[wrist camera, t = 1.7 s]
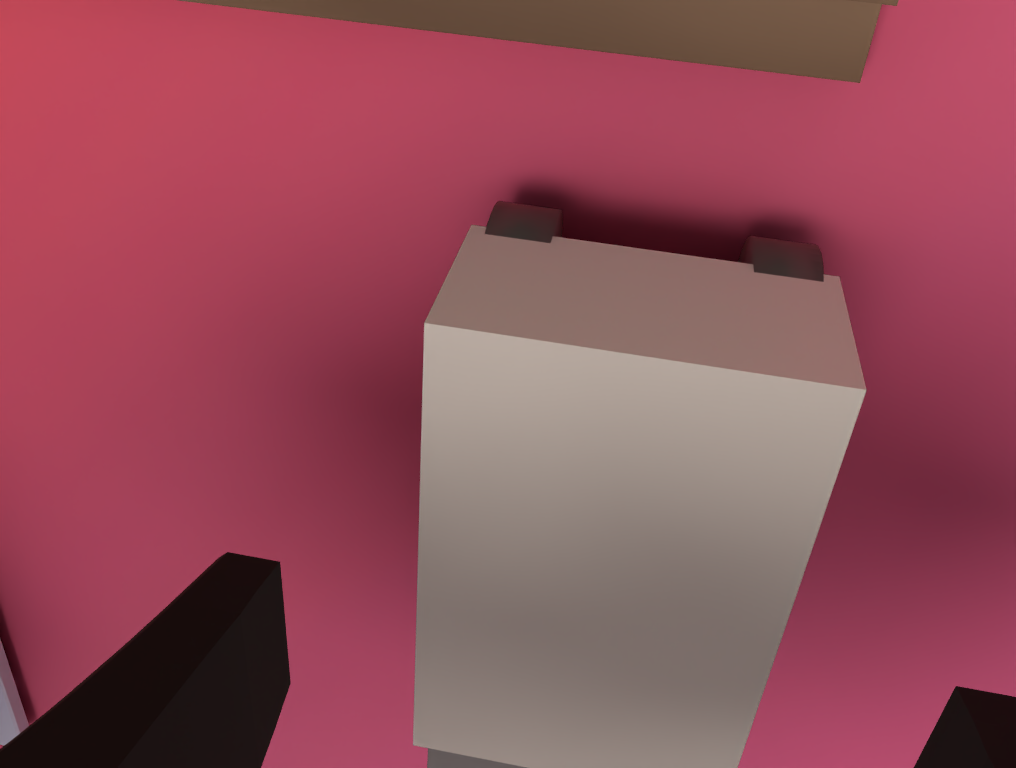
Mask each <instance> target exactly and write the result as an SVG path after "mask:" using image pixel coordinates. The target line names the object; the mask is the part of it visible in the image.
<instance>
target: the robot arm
mask: <svg viewBox="0 0 1016 768" xmlns="http://www.w3.org/2000/svg"><path fill="white" fill-rule="evenodd" d="M289 686H290V672H289V661H288V649H287V637H286V626H285V614H284V602H283V591H282V579H281V567H280V562H278V561H273V560H267V559H262V558H256V557H251V556H245V555H240V554H234V553H229V552H227V553H226V554H224V555H222V556H221V557H219V558H218V559H217V560H216V561H215V562H214V563H213V564H212V565H211V566H210V567H208V568H207V569H206V570H205V571H204V572H203V573H202V574H201V575H200V576H199V577H198V578H197V579H196V580H195V581H194V582H192V583H191V584H190V585H189V586H188V587H187V588H186V589H185V590H184V591H183V592H182V593H181V594H180V595H179V596H178V597H177V598H175V599H174V600H173V601H172V602H171V603H170V604H169V605H168V606H167V607H166V608H165V609H164V610H163V611H161V612H160V613H159V614H158V615H157V616H156V617H155V618H154V619H153V620H152V621H151V622H149V623H148V624H147V625H146V626H145V627H144V628H143V629H142V630H141V631H140V632H138V633H137V634H136V635H135V636H134V637H133V638H132V639H131V640H130V641H129V642H127V643H126V644H125V645H124V646H123V647H122V648H121V649H120V650H118V651H117V652H116V653H115V654H114V655H113V656H111V657H110V658H109V659H108V660H107V661H106V662H105V663H103V664H102V665H101V666H100V667H99V668H98V669H97V670H95V671H94V672H93V673H92V674H91V675H90V676H88V677H87V678H86V679H85V680H84V681H83V682H82V683H80V684H79V685H78V686H77V687H76V688H75V689H73V690H72V691H71V692H70V693H69V694H68V695H67V696H65V697H64V698H63V699H62V700H61V701H59V702H58V703H57V704H56V705H55V706H53V707H52V708H51V709H50V710H49V711H47V712H46V713H45V714H44V715H42V716H41V717H40V718H39V719H37V720H36V721H35V722H34V723H32V724H31V725H30V726H29V724H28V721H27V718H26V715H25V712H24V709H23V706H22V703H21V700H20V697H19V694H18V691H17V688H16V685H15V682H14V679H13V676H12V673H11V670H10V667H9V663H8V660H7V657H6V654H5V651H4V648H3V645H2V642H1V639H0V745H5V746H3V747H2V748H1V749H0V768H261V766H262V763H263V760H264V758H265V755H266V752H267V749H268V747H269V744H270V741H271V738H272V735H273V733H274V730H275V727H276V724H277V721H278V718H279V715H280V712H281V709H282V706H283V703H284V701H285V698H286V695H287V692H288V689H289ZM914 768H1016V697H1012V696H1007V695H1002V694H996V693H991V692H985V691H980V690H974V689H969V688H963V687H958V686H956V687H955V689H954V691H953V693H952V695H951V697H950V699H949V701H948V702H947V704H946V706H945V708H944V710H943V712H942V714H941V716H940V718H939V720H938V722H937V724H936V726H935V728H934V730H933V732H932V734H931V735H930V737H929V739H928V741H927V743H926V745H925V747H924V749H923V751H922V753H921V755H920V757H919V759H918V761H917V763H916V765H915V767H914Z"/></svg>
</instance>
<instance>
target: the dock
mask: <svg viewBox="0 0 1016 768" xmlns="http://www.w3.org/2000/svg"><path fill="white" fill-rule="evenodd" d="M179 1H188V2H196V3H204V4H212V5H221V6H229V7H237V8H246V9H254V10H262V11H270V12H279V13H287V14H295V15H303V16H312V17H320V18H328V19H336V20H345V21H353V22H361V23H370V24H378V25H386V26H394V27H403V28H411V29H419V30H427V31H436V32H444V33H452V34H460V35H469V36H477V37H485V38H494V39H502V40H510V41H518V42H527V43H535V44H543V45H551V46H560V47H568V48H576V49H584V50H593V51H601V52H609V53H617V54H626V55H634V56H642V57H651V58H659V59H667V60H675V61H684V62H692V63H700V64H708V65H717V66H725V67H733V68H741V69H750V70H758V71H766V72H775V73H783V74H791V75H799V76H808V77H816V78H824V79H832V80H841V81H849V82H857V83H860V81H861V77H862V73H863V70H864V66H865V63H866V59H867V55H868V52H869V48H870V45H871V41H872V37H873V34H874V30H875V27H876V23H877V19H878V16H879V12H880V8H881V5H882V4H884V5H893V6H897V3H898V0H179Z"/></svg>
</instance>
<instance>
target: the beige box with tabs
mask: <svg viewBox="0 0 1016 768" xmlns="http://www.w3.org/2000/svg"><path fill="white" fill-rule="evenodd" d="M562 229H563V214H562V210H561V209H554V208H546V207H539V206H532V205H525V204H517V203H510V202H503V201H498V202H497V203H496V204H495V206H494V208H493V210H492V212H491V215H490V218H489V221H488V224H487V227H484V226H477V225H471V227H470V229H469V231H468V233H467V235H466V237H465V239H464V241H463V243H462V246H461V248H460V250H459V252H458V254H457V256H456V258H455V260H454V262H453V264H452V266H451V268H450V270H449V273H448V275H447V277H446V279H445V281H444V283H443V285H442V287H441V289H440V291H439V293H438V295H437V297H436V300H435V302H434V304H433V306H432V308H431V310H430V312H429V314H428V316H427V318H426V320H425V322H424V352H423V389H422V427H421V464H420V501H419V539H418V576H417V614H416V651H415V688H414V726H413V745H414V746H420V747H425V748H428V763H427V768H738V765H739V762H740V759H741V756H742V753H743V750H744V747H745V744H746V741H747V738H748V735H749V732H750V729H751V727H752V724H753V721H754V718H755V715H756V712H757V709H758V706H759V703H760V700H761V697H762V694H763V691H764V689H765V686H766V683H767V680H768V677H769V674H770V671H771V668H772V665H773V662H774V659H775V656H776V653H777V651H778V648H779V645H780V642H781V639H782V636H783V633H784V630H785V627H786V624H787V621H788V618H789V615H790V613H791V610H792V607H793V604H794V601H795V598H796V595H797V592H798V589H799V586H800V583H801V580H802V577H803V574H804V572H805V569H806V566H807V563H808V560H809V557H810V554H811V551H812V548H813V545H814V542H815V539H816V536H817V534H818V531H819V528H820V525H821V522H822V519H823V516H824V513H825V510H826V507H827V504H828V501H829V498H830V496H831V493H832V490H833V487H834V484H835V481H836V478H837V475H838V472H839V469H840V466H841V463H842V460H843V458H844V455H845V452H846V449H847V446H848V443H849V440H850V437H851V434H852V431H853V428H854V425H855V422H856V420H857V417H858V414H859V411H860V408H861V405H862V402H863V399H864V396H865V393H866V385H865V381H864V377H863V373H862V369H861V365H860V360H859V356H858V352H857V348H856V344H855V340H854V335H853V331H852V327H851V323H850V319H849V314H848V310H847V306H846V302H845V298H844V294H843V289H842V285H841V281H840V277H839V276H832V275H825V274H824V270H823V260H822V254H821V251H820V249H819V247H818V246H817V245H815V244H808V243H800V242H793V241H786V240H779V239H771V238H764V237H757V236H749V237H748V238H747V239H746V241H745V243H744V245H743V248H742V250H741V253H740V256H739V259H738V262H733V261H726V260H718V259H711V258H704V257H697V256H690V255H683V254H676V253H669V252H662V251H655V250H647V249H640V248H633V247H626V246H619V245H612V244H605V243H598V242H591V241H583V240H576V239H569V238H562Z"/></svg>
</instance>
